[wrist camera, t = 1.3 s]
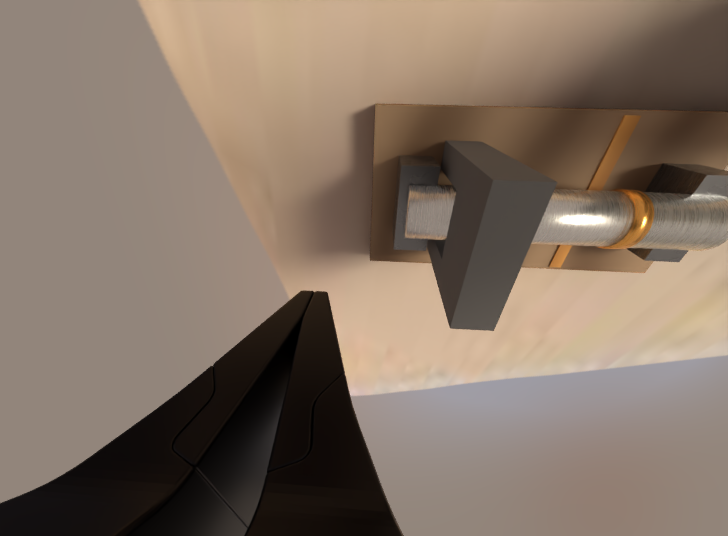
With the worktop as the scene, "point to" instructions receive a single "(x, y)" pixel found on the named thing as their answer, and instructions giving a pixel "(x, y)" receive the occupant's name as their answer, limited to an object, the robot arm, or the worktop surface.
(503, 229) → the slotted grey bracket
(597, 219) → the pipe rig
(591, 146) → the board
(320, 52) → the worktop surface
